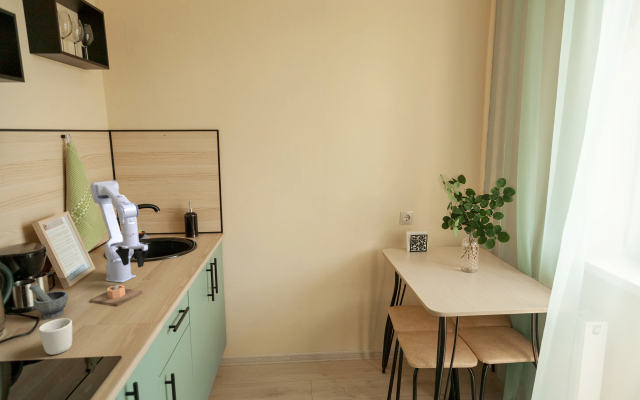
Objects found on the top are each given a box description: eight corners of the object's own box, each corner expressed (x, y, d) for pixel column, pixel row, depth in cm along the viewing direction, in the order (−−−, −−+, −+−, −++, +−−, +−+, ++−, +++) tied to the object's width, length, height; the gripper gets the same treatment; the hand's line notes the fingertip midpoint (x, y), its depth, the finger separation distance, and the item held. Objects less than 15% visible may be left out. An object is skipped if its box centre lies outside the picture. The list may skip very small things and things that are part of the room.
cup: (58, 338, 116) (55, 314, 114) (85, 336, 116) (82, 312, 115) (35, 358, 105) (31, 332, 104) (65, 356, 106) (61, 330, 104)
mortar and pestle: (75, 307, 136) (71, 276, 134) (61, 320, 127) (56, 287, 125) (41, 310, 135) (37, 278, 133) (25, 322, 125) (20, 289, 123)
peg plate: (90, 302, 141) (88, 289, 140) (116, 289, 152) (115, 277, 151) (117, 306, 137) (116, 293, 136) (142, 293, 148) (140, 281, 147)
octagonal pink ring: (104, 297, 142) (103, 289, 142) (116, 291, 148) (116, 284, 147) (116, 299, 141) (115, 291, 140) (128, 292, 146) (127, 285, 146)
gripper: (107, 234, 148) (111, 267, 151) (137, 237, 144) (140, 270, 146) (122, 230, 155) (125, 261, 157) (150, 232, 151) (153, 264, 153)
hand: (133, 265), depth 152 cm, fingers open, 7 cm apart
